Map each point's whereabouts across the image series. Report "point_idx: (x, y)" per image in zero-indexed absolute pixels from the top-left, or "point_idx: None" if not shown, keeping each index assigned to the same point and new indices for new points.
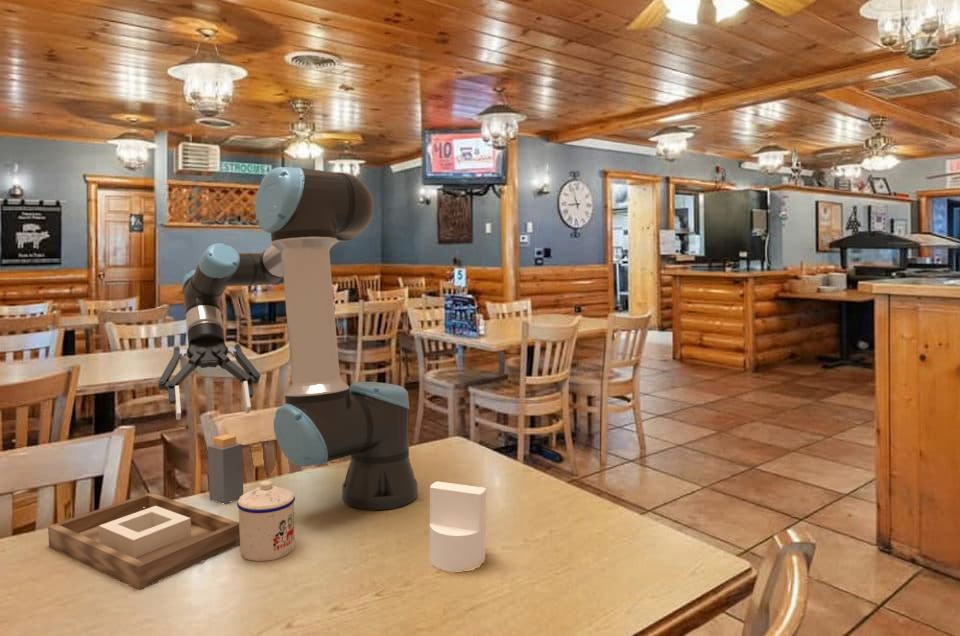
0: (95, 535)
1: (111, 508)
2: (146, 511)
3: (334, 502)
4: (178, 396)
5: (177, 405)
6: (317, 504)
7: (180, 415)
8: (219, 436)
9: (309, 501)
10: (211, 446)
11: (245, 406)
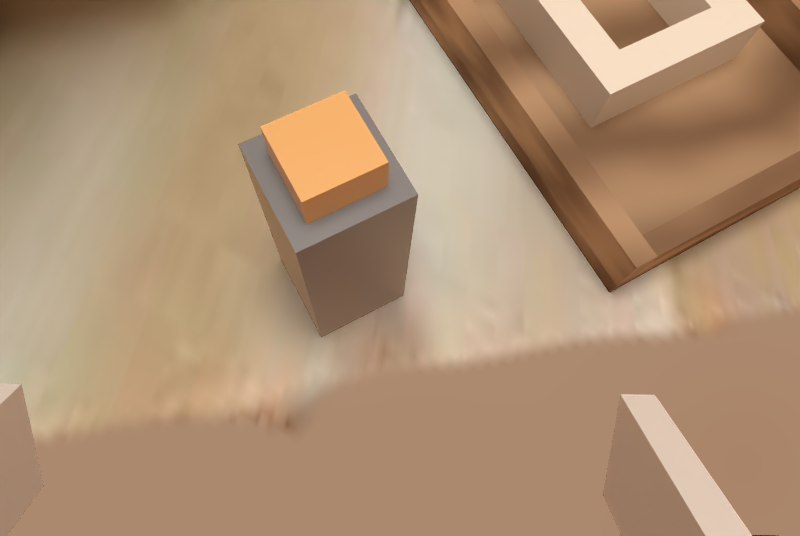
0: (757, 113)
1: (755, 176)
2: (636, 60)
3: (18, 65)
4: (714, 525)
5: (679, 445)
6: (76, 75)
7: (615, 434)
8: (350, 170)
9: (87, 111)
10: (401, 174)
11: (6, 495)
